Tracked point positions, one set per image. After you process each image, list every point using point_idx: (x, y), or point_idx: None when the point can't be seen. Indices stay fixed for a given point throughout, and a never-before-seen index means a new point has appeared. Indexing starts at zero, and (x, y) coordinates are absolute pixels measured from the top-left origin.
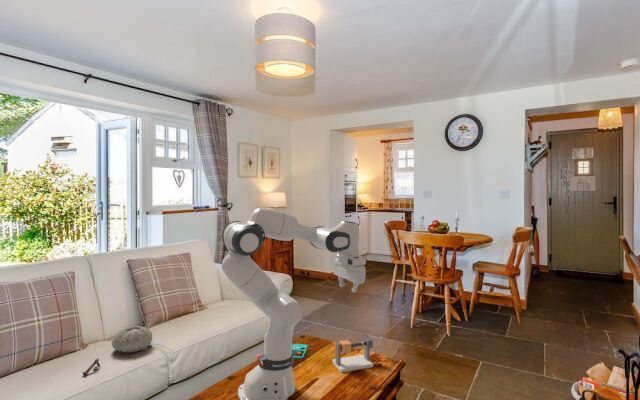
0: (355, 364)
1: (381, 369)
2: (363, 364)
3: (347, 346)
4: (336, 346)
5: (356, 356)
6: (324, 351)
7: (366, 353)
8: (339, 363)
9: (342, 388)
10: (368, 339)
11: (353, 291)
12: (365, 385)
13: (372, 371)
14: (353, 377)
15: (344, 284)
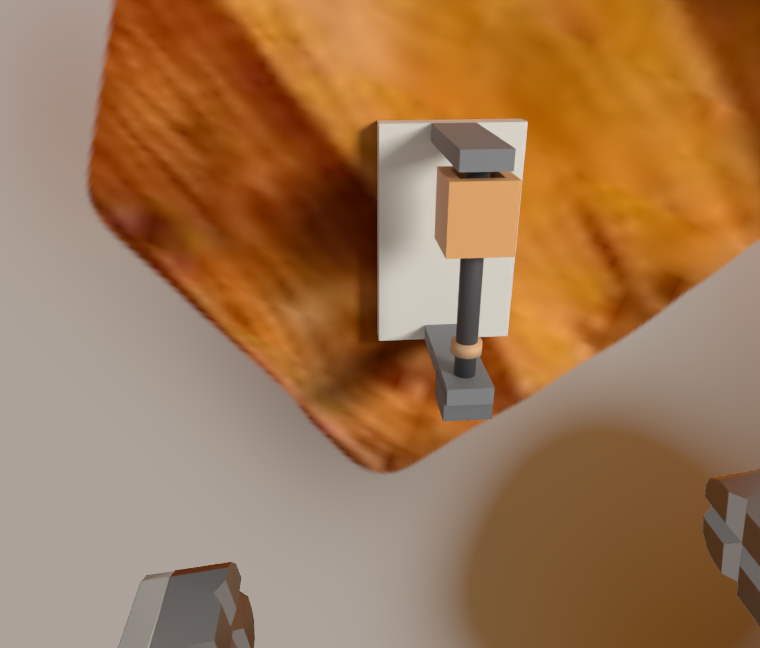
0: (405, 238)
1: (337, 361)
2: (390, 284)
3: (443, 221)
4: (492, 143)
5: (500, 288)
6: (690, 127)
7: (445, 342)
8: (432, 135)
9: (182, 43)
10: (461, 401)
11: (140, 590)
12: (188, 199)
13: (331, 306)
14: (295, 170)
15: (738, 587)
